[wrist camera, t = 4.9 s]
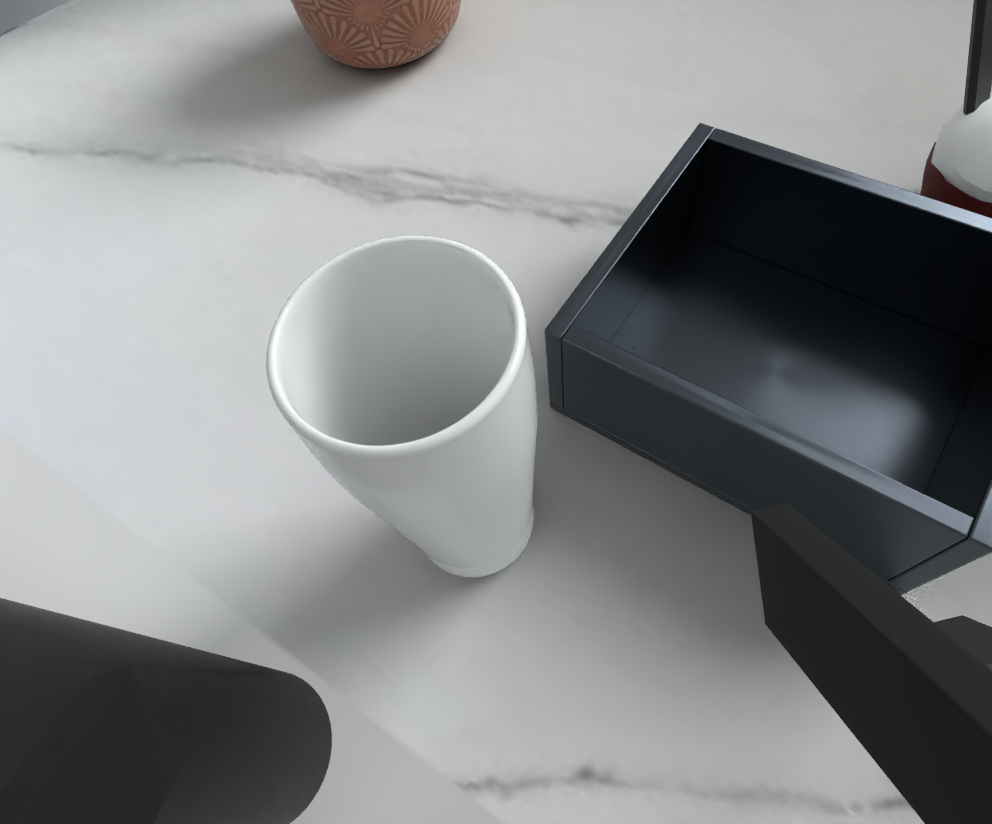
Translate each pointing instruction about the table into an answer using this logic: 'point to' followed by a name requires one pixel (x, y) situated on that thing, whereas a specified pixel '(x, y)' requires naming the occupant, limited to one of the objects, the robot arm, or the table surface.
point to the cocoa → (967, 131)
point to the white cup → (417, 394)
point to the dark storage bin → (797, 350)
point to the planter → (377, 28)
